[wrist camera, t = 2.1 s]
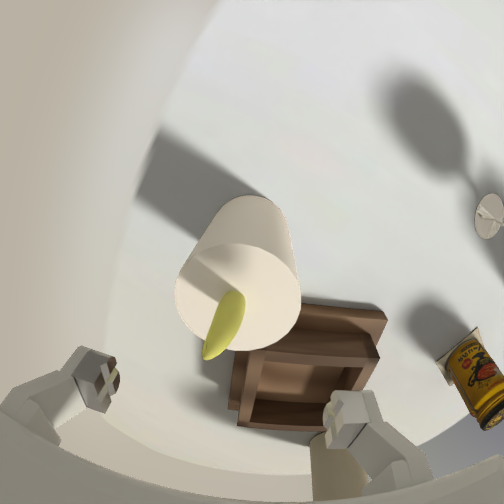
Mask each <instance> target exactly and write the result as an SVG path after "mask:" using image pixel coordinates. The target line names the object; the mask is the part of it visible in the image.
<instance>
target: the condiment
mask: <svg viewBox="0 0 504 504" xmlns="http://www.w3.org/2000/svg"><path fill="white" fill-rule="evenodd" d="M436 364H437V365H438V367H439V369H440V370H441V372H442V374H443V375H444V377H445V379H446V381H447V382H448V384H449V386H451V385H452V384H455V385H456V387H457V389H458V391H459V393H460V395H461V397H462V399H463V400H464V402H465V404H466V406H467V408H468V410H469V412H470V414H471V415H472V416H473V417H475V418H477V422H478V423H479V424H480V428H481V429H482V430H484V431H486V430H489V429H491V428H493V427H494V426H496V425H497V424H499V423H500V422H501V421H502V420H503V419H504V376H503V374H502V373H501V371H500V370H499V368H498V367H497V365H496V364H495V362H494V361H493V359H492V358H491V357H490V355H489V354H488V353H487V351H486V350H485V349H484V345H483V342H482V339H481V336H480V332H479V329H478V328H477V329H475V330H474V331H473V332H472V333H471V334H470V335H469V336H467V337H466V338H465V339H463V340H462V341H461V342H460V343H459V344H457V345H456V346H455V347H454V348H453V349H451V350H450V351H449V352H448V353H447V354H446V355H445V356H444V357H442V358H441V359H440V360H438V361H437V362H436Z"/></svg>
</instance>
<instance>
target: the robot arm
mask: <svg viewBox="0 0 504 504" xmlns="http://www.w3.org/2000/svg"><path fill="white" fill-rule="evenodd" d="M116 364H117V363H116V359H115V357H113V356H110V355H107V354H104V353H101V352H98V351H95V350H92V349H90V348H87V347H84V346H80V347H78V348H77V349H76V350H75V352H74V353H73V354H72V356H71V357H70V358H69V360H68V361H67V362H66V364H65V365H64V366H63V368H62V369H61V370H60V371H58V370H56V371H53V372H51V373H49V374H46V375H44V376H42V377H39V378H37V379H34V380H32V381H29V382H27V383H24V384H22V385H19V386H17V387H14V388H13V389H12V390H11V391H10V393H9V394H8V395H7V397H6V398H5V400H4V401H3V402H2V403H1V405H0V504H504V457H502V456H501V455H494V456H491V457H489V458H487V459H485V460H483V461H481V462H478V463H477V464H474V465H472V466H469V467H467V468H465V469H462V470H460V471H457V472H454V473H451V474H449V475H446V476H443V477H440V478H437V479H433V475H432V472H431V469H430V466H429V463H428V460H427V457H426V454H425V453H424V452H422V451H421V450H420V449H418V448H417V447H416V446H415V445H414V444H413V443H411V442H410V441H409V440H408V439H407V438H405V437H404V436H403V435H402V434H401V433H399V432H398V431H397V430H396V429H395V428H393V427H392V426H391V425H390V424H389V423H388V422H383V419H382V416H381V413H380V410H379V407H378V404H377V401H376V398H375V395H374V392H373V391H372V390H335V391H333V392H332V394H331V396H330V397H331V401H330V402H329V403H327V404H326V406H325V408H324V412H323V426H324V427H325V428H326V429H327V430H328V431H327V432H326V434H325V440H326V447H327V449H347V450H348V451H349V452H350V453H351V455H352V456H353V457H354V458H355V459H356V461H357V462H358V463H359V464H360V465H361V467H362V468H363V469H364V470H365V471H366V473H367V474H368V475H369V476H370V477H371V479H372V481H371V482H370V483H368V484H367V485H366V486H365V487H364V488H363V489H362V495H363V496H362V497H355V498H348V499H339V500H328V501H313V502H261V501H247V500H236V499H227V498H219V497H212V496H206V495H200V494H195V493H190V492H184V491H180V490H176V489H171V488H167V487H163V486H159V485H156V484H152V483H149V482H145V481H142V480H139V479H135V478H132V477H129V476H126V475H123V474H121V473H118V472H115V471H112V470H110V469H107V468H104V467H102V466H99V465H97V464H95V463H92V462H90V461H87V460H85V459H83V458H81V457H79V456H77V455H74V454H72V453H70V452H68V451H66V450H64V449H62V448H60V447H58V446H59V444H60V443H61V438H60V436H59V435H58V434H57V432H56V431H55V428H57V427H58V426H60V425H61V424H63V423H65V422H66V421H68V420H69V419H71V418H72V417H74V416H76V415H77V414H79V413H80V412H82V411H83V410H85V409H86V408H87V407H88V408H91V409H93V410H96V411H99V412H102V413H106V411H107V409H108V407H109V405H110V403H111V398H110V396H111V395H113V394H115V393H116V392H117V389H118V387H119V383H120V375H119V371H118V370H117V369H116V368H115V366H116Z"/></svg>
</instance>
